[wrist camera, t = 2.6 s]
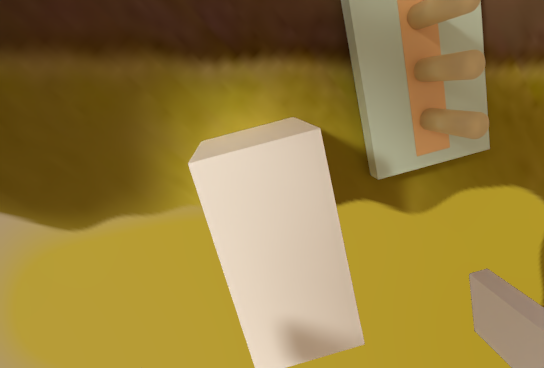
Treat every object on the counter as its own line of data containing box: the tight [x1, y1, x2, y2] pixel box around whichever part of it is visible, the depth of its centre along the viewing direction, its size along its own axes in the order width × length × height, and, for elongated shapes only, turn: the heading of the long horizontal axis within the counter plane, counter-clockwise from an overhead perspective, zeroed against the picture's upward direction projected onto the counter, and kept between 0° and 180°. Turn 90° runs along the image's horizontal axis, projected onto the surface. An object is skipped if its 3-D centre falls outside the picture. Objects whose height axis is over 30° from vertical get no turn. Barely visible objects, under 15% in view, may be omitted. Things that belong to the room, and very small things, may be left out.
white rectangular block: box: [188, 117, 365, 368], centre depth 23 cm, size 14×7×8 cm, turn 14°
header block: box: [341, 0, 490, 180], centre depth 22 cm, size 9×14×6 cm, turn 14°
